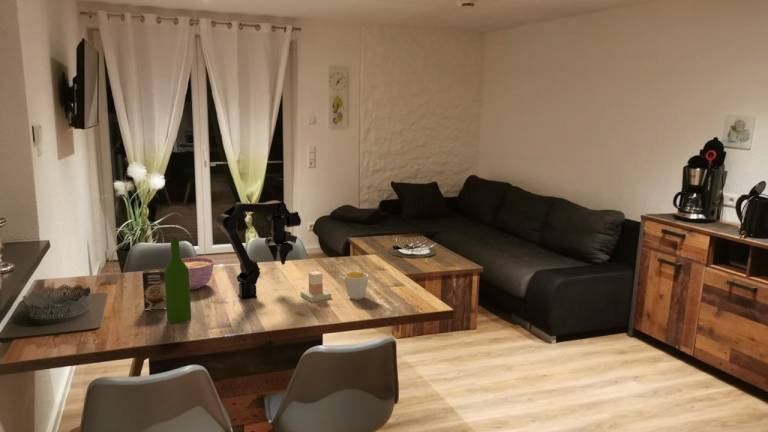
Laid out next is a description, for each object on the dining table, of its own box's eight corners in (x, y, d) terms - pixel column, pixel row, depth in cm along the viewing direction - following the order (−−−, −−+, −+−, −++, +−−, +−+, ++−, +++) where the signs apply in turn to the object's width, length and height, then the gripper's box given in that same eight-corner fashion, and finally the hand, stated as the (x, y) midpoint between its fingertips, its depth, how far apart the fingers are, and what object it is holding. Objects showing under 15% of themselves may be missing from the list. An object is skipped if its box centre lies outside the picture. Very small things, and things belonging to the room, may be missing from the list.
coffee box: (144, 311, 239) (141, 273, 236) (146, 306, 245) (143, 268, 242) (167, 309, 241) (165, 271, 238) (169, 304, 247) (166, 267, 244)
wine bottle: (183, 314, 236) (178, 235, 230) (195, 319, 230) (191, 238, 224) (162, 320, 229) (157, 238, 223) (175, 325, 223) (170, 242, 218)
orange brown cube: (313, 294, 255) (313, 285, 254) (309, 292, 259) (308, 282, 258) (322, 293, 257) (322, 283, 257) (318, 290, 261) (317, 280, 260)
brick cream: (313, 285, 254) (313, 275, 253) (308, 282, 258) (308, 272, 257) (322, 283, 257) (322, 273, 256) (317, 280, 260) (317, 271, 259)
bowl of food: (221, 281, 280) (220, 258, 278) (205, 294, 261) (203, 269, 259) (181, 280, 282) (180, 256, 280) (162, 292, 263) (160, 267, 261)
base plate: (310, 302, 252) (310, 297, 251) (300, 296, 260) (300, 291, 259) (331, 298, 257) (331, 293, 257) (320, 292, 265) (320, 288, 265)
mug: (371, 300, 255) (371, 276, 253) (349, 302, 251) (349, 279, 249) (361, 291, 267) (361, 268, 266) (339, 293, 264) (339, 271, 262)
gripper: (303, 230, 260) (304, 264, 263) (286, 223, 276) (287, 255, 278) (280, 233, 254) (281, 267, 257) (264, 225, 270) (264, 258, 272)
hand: (279, 262), depth 266 cm, fingers open, 9 cm apart
